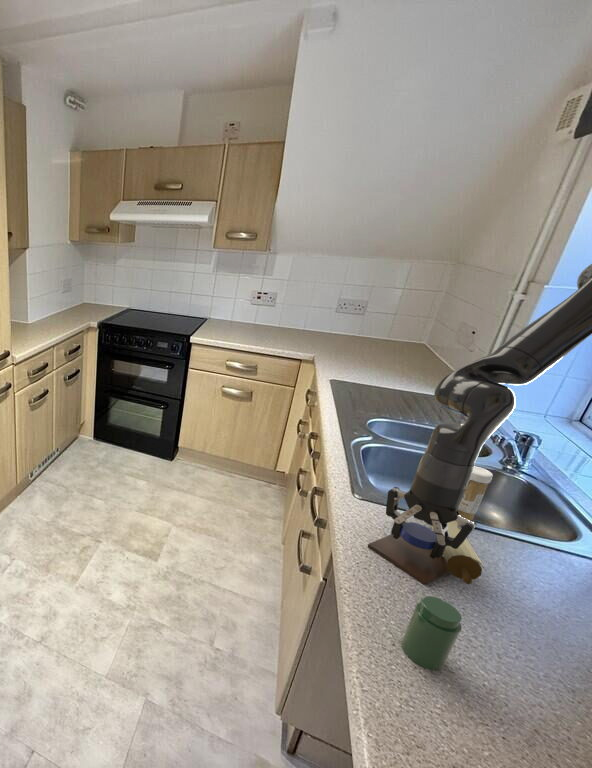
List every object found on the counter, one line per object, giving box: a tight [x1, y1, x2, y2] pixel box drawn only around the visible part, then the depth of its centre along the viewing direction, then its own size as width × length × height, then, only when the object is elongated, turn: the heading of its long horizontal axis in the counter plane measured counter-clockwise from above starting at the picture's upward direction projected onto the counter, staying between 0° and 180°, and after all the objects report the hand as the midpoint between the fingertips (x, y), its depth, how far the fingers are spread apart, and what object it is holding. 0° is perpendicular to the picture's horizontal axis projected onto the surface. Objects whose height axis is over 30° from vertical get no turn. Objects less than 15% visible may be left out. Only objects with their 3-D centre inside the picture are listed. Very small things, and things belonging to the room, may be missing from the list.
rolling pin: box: [430, 521, 485, 585], centre depth 88 cm, size 32×6×5 cm, turn 149°
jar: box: [400, 595, 463, 671], centre depth 64 cm, size 5×5×10 cm
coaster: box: [367, 534, 450, 586], centre depth 85 cm, size 11×11×1 cm
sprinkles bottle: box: [458, 465, 494, 521], centre depth 95 cm, size 5×5×13 cm
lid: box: [400, 521, 437, 550], centre depth 84 cm, size 6×6×2 cm
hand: (414, 546), depth 84 cm, fingers closed on lid, 5 cm apart
